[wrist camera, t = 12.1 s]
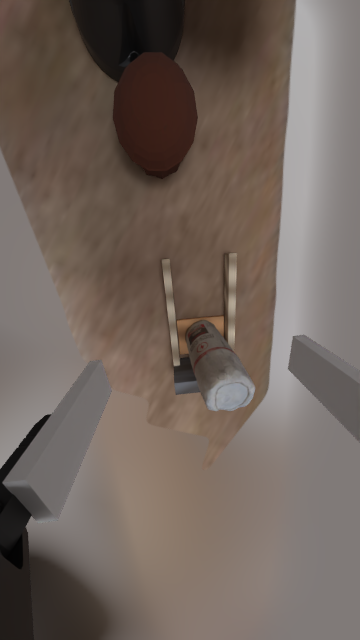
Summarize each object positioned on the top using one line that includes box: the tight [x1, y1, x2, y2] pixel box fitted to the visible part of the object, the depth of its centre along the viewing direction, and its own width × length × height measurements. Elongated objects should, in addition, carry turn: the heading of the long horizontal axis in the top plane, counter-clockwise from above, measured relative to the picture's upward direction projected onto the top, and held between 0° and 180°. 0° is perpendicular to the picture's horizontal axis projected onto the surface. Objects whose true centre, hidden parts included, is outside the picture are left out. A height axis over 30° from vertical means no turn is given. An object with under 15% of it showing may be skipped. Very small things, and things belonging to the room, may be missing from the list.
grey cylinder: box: [185, 320, 255, 411], centre depth 32 cm, size 8×8×20 cm
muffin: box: [113, 52, 198, 179], centre depth 25 cm, size 12×11×10 cm
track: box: [162, 253, 237, 395], centre depth 37 cm, size 27×14×9 cm, turn 5°
